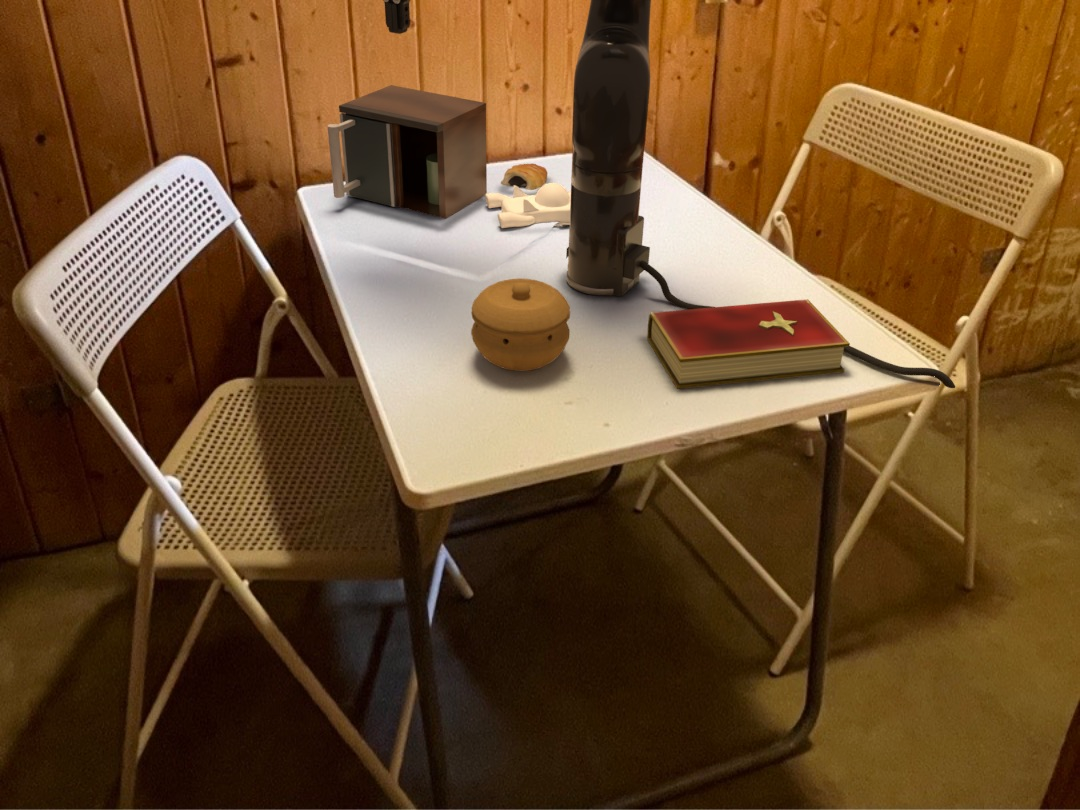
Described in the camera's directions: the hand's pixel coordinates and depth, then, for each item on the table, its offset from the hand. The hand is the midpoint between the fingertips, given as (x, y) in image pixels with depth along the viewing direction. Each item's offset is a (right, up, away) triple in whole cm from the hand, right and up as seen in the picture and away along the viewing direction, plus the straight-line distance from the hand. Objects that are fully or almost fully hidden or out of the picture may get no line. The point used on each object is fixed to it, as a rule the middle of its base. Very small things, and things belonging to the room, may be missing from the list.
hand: (398, 31), depth 130 cm
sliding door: (-10, -17, +27) cm, 34 cm away
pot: (+16, -43, -8) cm, 46 cm away
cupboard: (-1, -15, +33) cm, 37 cm away
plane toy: (+21, -19, +28) cm, 40 cm away
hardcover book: (+43, -42, -6) cm, 61 cm away
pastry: (+16, -11, +40) cm, 45 cm away
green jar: (+3, -15, +31) cm, 35 cm away
